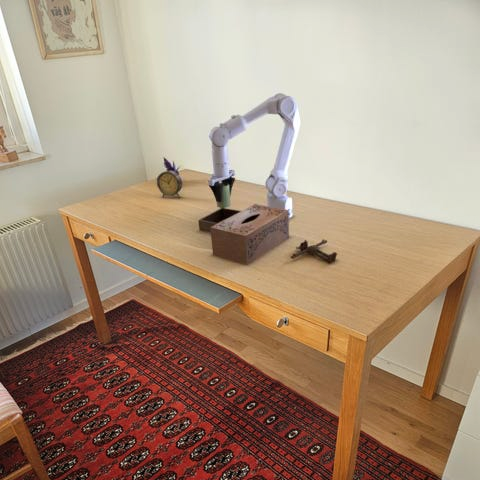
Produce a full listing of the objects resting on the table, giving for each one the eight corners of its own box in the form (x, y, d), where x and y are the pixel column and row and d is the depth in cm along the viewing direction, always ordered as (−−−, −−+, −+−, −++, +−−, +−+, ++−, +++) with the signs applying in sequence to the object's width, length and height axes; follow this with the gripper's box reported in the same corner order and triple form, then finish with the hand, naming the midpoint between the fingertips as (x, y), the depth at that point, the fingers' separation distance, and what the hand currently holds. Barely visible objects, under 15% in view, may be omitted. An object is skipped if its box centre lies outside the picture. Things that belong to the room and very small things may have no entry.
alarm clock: (158, 198, 206) (153, 162, 197) (163, 194, 210) (158, 159, 201) (180, 199, 203) (175, 162, 194) (185, 195, 207) (180, 159, 198)
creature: (189, 179, 228) (186, 155, 222) (163, 189, 217) (159, 163, 211) (177, 177, 233) (174, 153, 227) (151, 186, 222) (147, 161, 215)
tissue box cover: (255, 229, 168) (255, 204, 162) (288, 237, 160) (288, 210, 155) (212, 255, 151) (210, 227, 145) (247, 264, 143) (245, 235, 138)
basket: (252, 224, 173) (252, 212, 170) (230, 238, 162) (229, 226, 160) (222, 218, 180) (221, 207, 177) (199, 231, 169) (198, 220, 167)
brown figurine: (315, 263, 135) (281, 245, 144) (314, 274, 138) (280, 257, 146) (351, 244, 145) (317, 229, 153) (349, 256, 147) (315, 240, 156)
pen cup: (233, 204, 171) (232, 183, 166) (225, 208, 167) (223, 187, 163) (222, 202, 173) (220, 181, 169) (214, 206, 169) (212, 185, 165)
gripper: (223, 157, 168) (225, 192, 176) (199, 166, 158) (203, 203, 166) (238, 158, 165) (240, 194, 172) (215, 168, 155) (218, 206, 162)
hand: (223, 199), depth 169 cm, fingers closed on pen cup, 5 cm apart
